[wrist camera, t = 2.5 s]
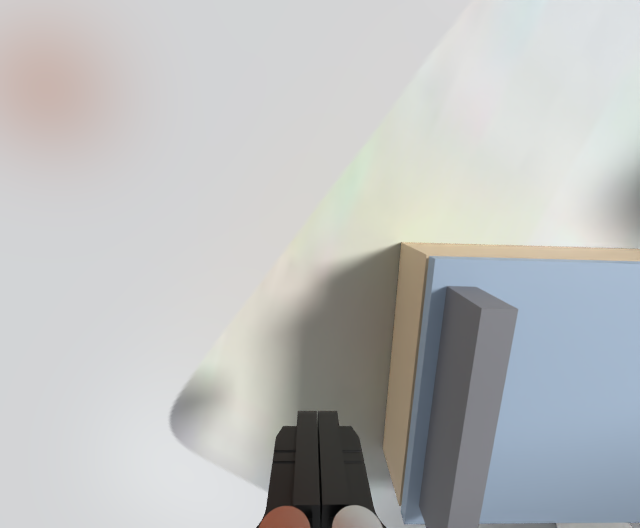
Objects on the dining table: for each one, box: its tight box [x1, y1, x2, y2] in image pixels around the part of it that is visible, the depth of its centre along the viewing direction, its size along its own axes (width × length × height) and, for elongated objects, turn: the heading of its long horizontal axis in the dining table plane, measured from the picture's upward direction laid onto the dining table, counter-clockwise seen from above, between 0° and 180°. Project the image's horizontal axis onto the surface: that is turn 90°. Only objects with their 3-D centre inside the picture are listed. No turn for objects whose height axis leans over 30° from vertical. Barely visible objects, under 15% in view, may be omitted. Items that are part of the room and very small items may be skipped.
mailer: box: [383, 242, 640, 506], centre depth 16 cm, size 13×13×4 cm
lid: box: [401, 256, 640, 528], centre depth 12 cm, size 13×13×3 cm
